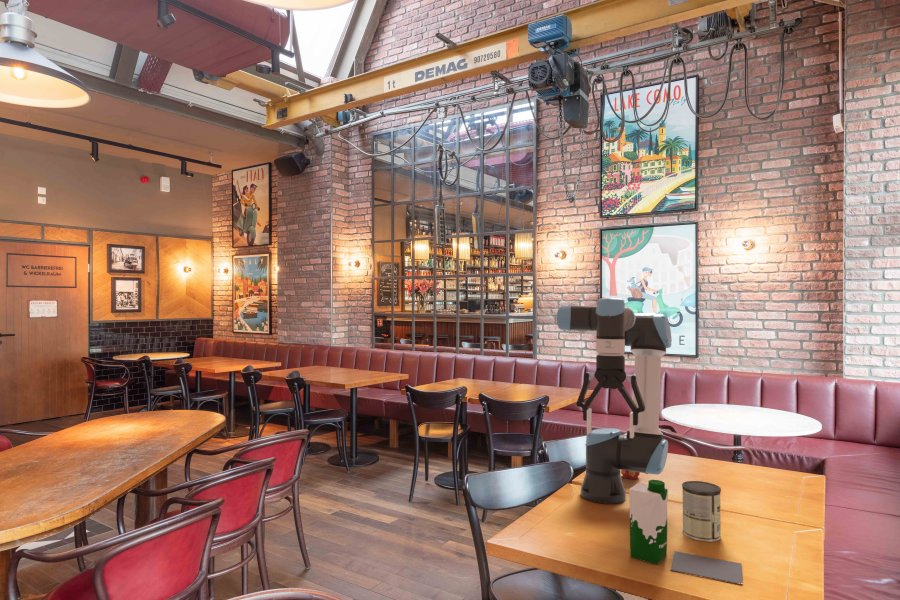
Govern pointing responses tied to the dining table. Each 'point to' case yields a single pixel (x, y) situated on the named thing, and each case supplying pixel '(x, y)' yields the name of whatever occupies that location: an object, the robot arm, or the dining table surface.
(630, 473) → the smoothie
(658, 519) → the soya milk
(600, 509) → the dining table surface
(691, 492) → the coffee can
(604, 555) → the dining table surface
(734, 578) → the mat
